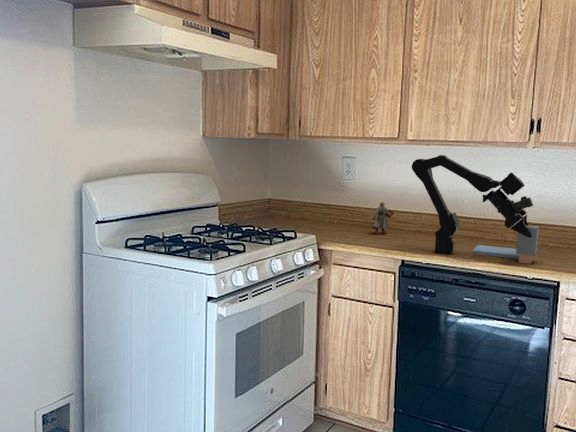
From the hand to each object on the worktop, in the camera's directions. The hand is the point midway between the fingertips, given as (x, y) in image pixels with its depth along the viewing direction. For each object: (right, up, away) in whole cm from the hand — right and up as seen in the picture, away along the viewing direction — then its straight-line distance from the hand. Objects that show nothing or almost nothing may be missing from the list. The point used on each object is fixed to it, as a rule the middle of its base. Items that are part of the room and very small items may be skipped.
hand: (531, 235), depth 205 cm
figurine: (-46, -1, +57) cm, 73 cm away
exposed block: (-2, -10, +2) cm, 10 cm away
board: (-5, -8, +17) cm, 19 cm away
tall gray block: (-1, -6, +2) cm, 7 cm away
